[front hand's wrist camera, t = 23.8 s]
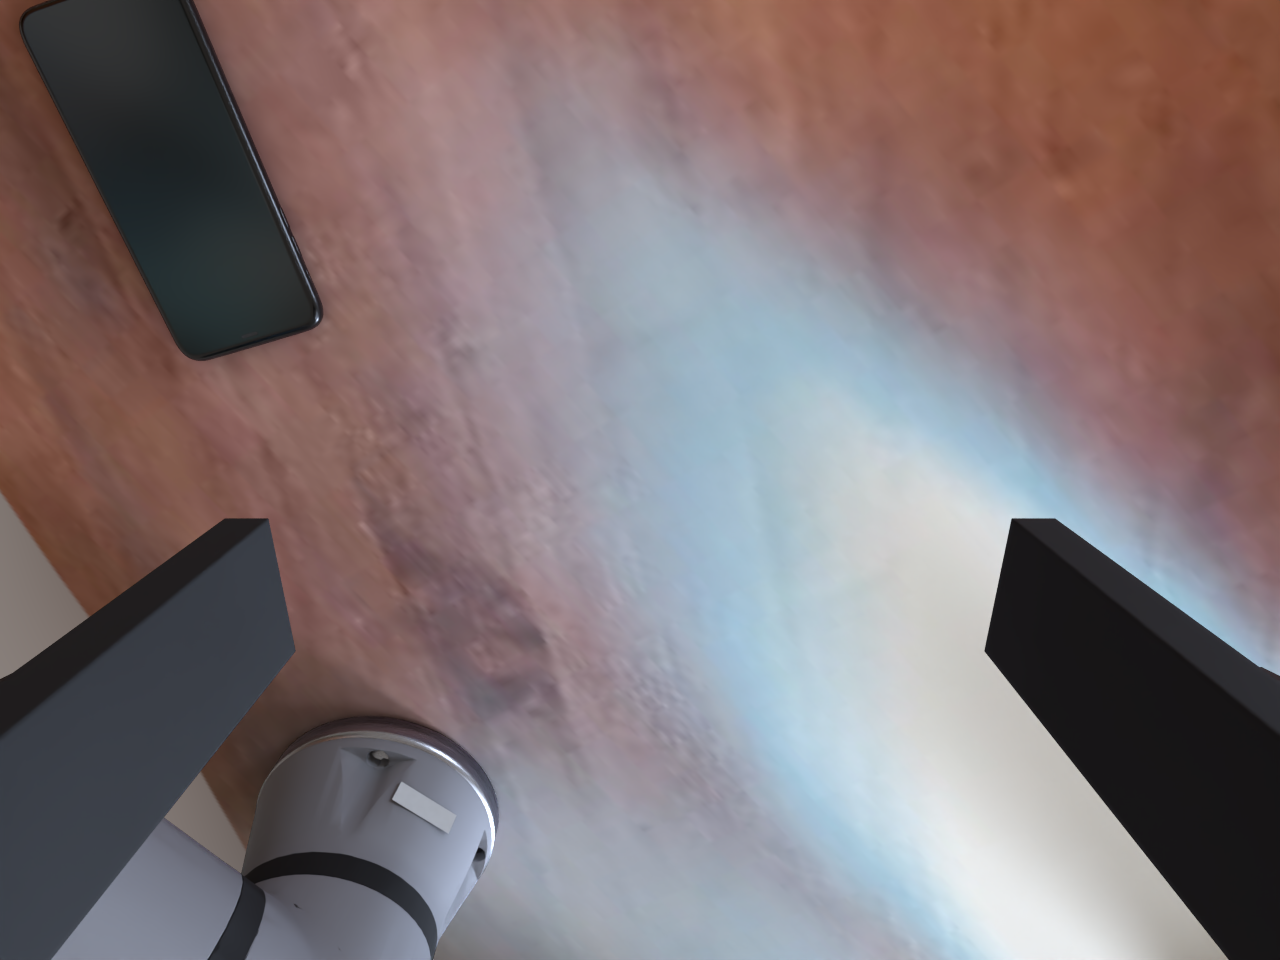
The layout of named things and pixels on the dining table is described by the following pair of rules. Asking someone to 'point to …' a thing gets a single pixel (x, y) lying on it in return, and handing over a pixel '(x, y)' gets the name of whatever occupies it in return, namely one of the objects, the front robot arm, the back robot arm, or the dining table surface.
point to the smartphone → (175, 169)
